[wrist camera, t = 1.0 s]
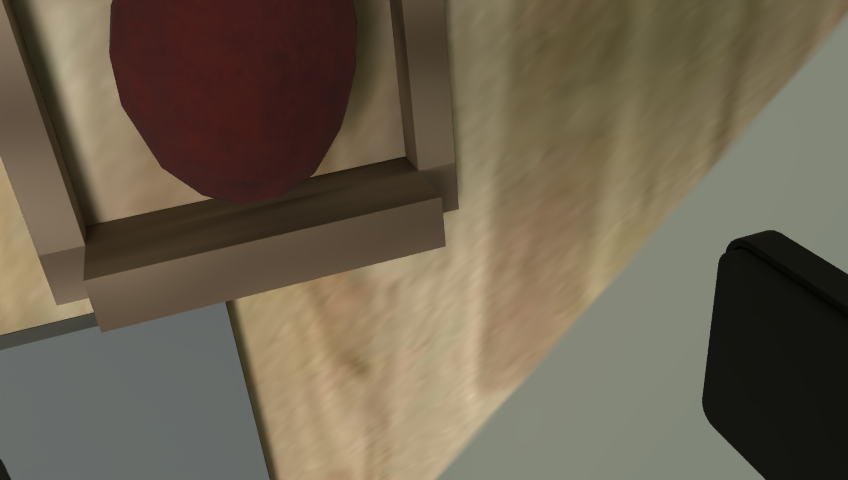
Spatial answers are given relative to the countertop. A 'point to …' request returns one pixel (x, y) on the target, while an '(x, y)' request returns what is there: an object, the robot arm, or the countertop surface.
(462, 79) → the countertop surface
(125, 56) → the potato
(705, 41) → the countertop surface
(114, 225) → the holder
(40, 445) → the mat
